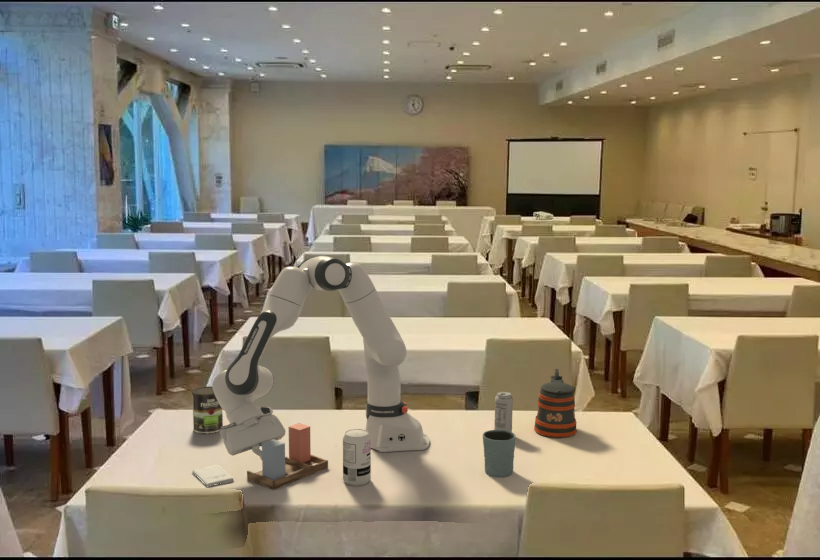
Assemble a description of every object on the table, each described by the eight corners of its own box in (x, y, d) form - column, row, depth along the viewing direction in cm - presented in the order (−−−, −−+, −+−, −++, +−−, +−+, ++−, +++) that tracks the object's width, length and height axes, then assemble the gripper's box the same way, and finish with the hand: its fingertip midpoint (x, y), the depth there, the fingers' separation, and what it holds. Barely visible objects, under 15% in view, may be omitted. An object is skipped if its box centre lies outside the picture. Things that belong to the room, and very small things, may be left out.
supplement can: (342, 476, 256) (342, 428, 254) (370, 475, 257) (370, 428, 255) (343, 486, 248) (342, 438, 246) (371, 486, 249) (371, 437, 247)
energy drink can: (515, 436, 292) (516, 394, 290) (501, 439, 289) (503, 397, 287) (503, 431, 297) (505, 390, 295) (490, 434, 294) (491, 392, 292)
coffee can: (226, 431, 295) (225, 392, 293) (197, 435, 290) (195, 396, 288) (219, 422, 304) (217, 384, 302) (190, 426, 299) (188, 388, 297)
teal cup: (505, 481, 254) (506, 442, 252) (475, 473, 259) (476, 436, 257) (520, 470, 262) (521, 433, 260) (490, 463, 268) (491, 427, 266)
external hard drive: (218, 469, 262) (233, 482, 252) (192, 474, 258) (207, 488, 248) (218, 464, 262) (233, 477, 252) (192, 469, 257) (207, 483, 247)
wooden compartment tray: (247, 479, 254) (246, 471, 253) (301, 458, 270) (301, 451, 270) (273, 489, 246) (273, 481, 246) (328, 468, 263) (328, 460, 262)
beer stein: (531, 420, 310) (533, 367, 307) (571, 421, 309) (574, 367, 306) (536, 437, 291) (537, 381, 288) (579, 439, 290) (581, 382, 287)
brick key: (289, 460, 265) (288, 426, 264) (299, 456, 269) (299, 423, 267) (299, 464, 262) (299, 430, 260) (310, 460, 266) (310, 426, 264)
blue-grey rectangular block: (262, 478, 251) (261, 443, 249) (274, 474, 254) (273, 439, 252) (273, 483, 247) (273, 447, 246) (285, 478, 251) (284, 443, 249)
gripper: (221, 422, 247) (243, 462, 242) (275, 406, 262) (297, 443, 258) (212, 433, 250) (234, 473, 246) (266, 416, 266) (287, 454, 261)
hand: (266, 458), depth 252 cm, fingers closed
